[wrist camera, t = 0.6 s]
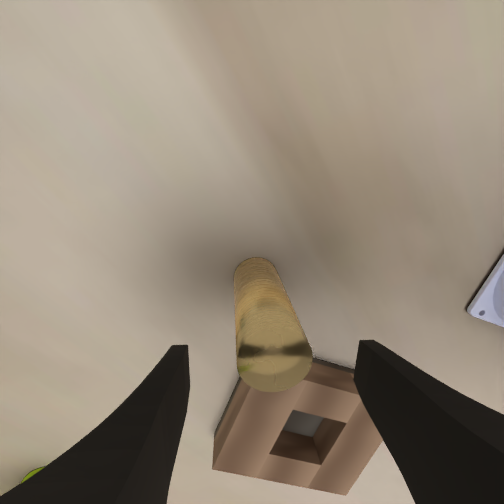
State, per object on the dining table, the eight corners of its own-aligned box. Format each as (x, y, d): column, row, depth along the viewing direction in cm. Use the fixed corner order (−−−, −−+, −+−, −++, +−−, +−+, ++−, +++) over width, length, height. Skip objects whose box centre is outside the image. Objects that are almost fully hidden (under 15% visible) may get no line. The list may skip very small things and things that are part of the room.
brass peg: (284, 265, 20) (325, 340, 11) (267, 303, 21) (294, 399, 12) (243, 251, 19) (253, 318, 11) (227, 290, 20) (225, 381, 12)
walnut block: (383, 378, 24) (404, 407, 21) (333, 459, 26) (345, 495, 23) (256, 341, 22) (260, 367, 19) (214, 433, 24) (212, 469, 21)
